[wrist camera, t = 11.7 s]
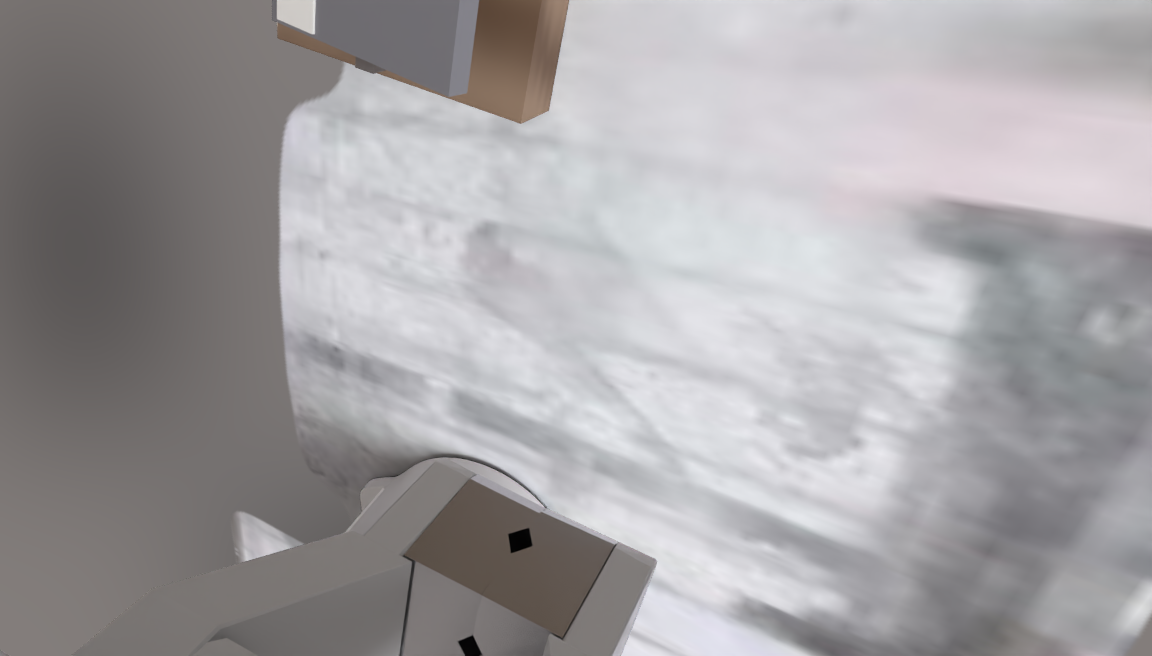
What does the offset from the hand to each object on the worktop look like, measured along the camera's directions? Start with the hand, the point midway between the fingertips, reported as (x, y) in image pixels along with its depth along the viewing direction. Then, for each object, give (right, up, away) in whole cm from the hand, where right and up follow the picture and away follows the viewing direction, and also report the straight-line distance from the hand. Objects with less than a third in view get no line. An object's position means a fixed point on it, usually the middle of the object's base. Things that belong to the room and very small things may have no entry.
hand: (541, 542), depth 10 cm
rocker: (-9, +17, +25) cm, 31 cm away
